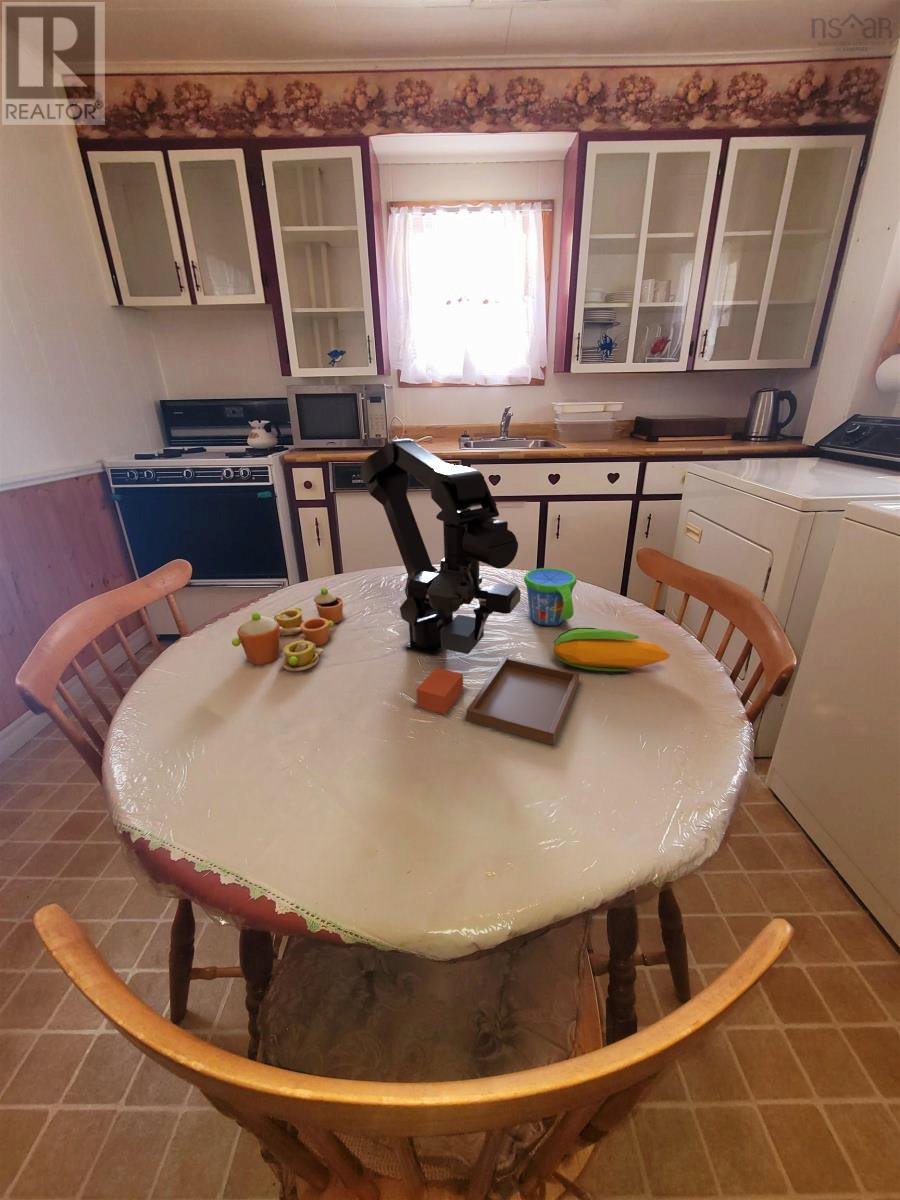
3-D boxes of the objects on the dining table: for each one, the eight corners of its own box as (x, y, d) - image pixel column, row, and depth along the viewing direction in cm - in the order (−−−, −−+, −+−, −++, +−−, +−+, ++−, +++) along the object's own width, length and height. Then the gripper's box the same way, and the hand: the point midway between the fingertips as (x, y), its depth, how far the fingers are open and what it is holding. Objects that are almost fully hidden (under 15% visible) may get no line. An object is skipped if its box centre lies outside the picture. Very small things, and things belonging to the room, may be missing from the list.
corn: (554, 617, 89) (668, 622, 86) (551, 651, 93) (660, 657, 90) (555, 639, 83) (678, 646, 80) (552, 674, 86) (670, 682, 83)
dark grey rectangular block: (441, 648, 83) (441, 631, 82) (458, 630, 89) (458, 614, 87) (468, 654, 81) (468, 636, 80) (483, 636, 87) (484, 619, 85)
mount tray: (466, 720, 75) (466, 709, 74) (503, 666, 89) (504, 656, 88) (553, 745, 69) (554, 734, 69) (578, 683, 83) (579, 672, 82)
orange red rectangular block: (417, 706, 78) (416, 689, 77) (437, 683, 84) (436, 667, 83) (445, 714, 76) (444, 696, 75) (463, 690, 82) (462, 673, 81)
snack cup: (512, 607, 111) (513, 565, 107) (555, 602, 113) (558, 561, 109) (538, 639, 97) (541, 593, 93) (586, 633, 99) (591, 587, 95)
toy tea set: (311, 677, 87) (304, 630, 83) (230, 673, 88) (219, 626, 84) (354, 613, 110) (350, 574, 106) (290, 611, 112) (283, 572, 108)
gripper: (385, 559, 75) (393, 646, 82) (498, 576, 68) (496, 670, 74) (420, 539, 84) (424, 619, 91) (523, 552, 77) (519, 638, 83)
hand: (463, 635), depth 84 cm, fingers closed on dark grey rectangular block, 5 cm apart
